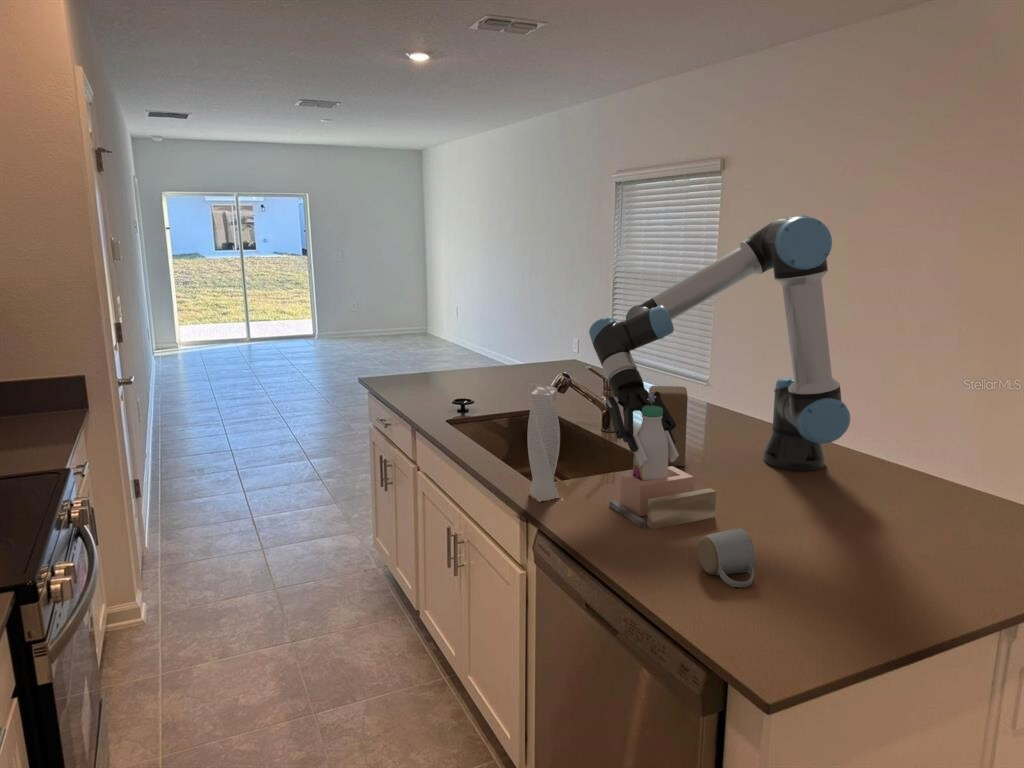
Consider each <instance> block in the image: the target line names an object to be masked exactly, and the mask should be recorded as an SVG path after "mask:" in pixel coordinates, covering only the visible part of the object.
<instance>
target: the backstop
mask: <svg viewBox="0 0 1024 768" xmlns="http://www.w3.org/2000/svg"><path fill="white" fill-rule="evenodd" d="M716 496H717V490H715V489H713V488H708V487H707V488H704V489H698V490H697V489H696V490H693V491H692V492H686V493H681V494H675V495H669V496H664V497H658V498H653V499H648V515H646V517H647V522H646V520H645V519H644V518H642V517H641V516H638V515H637V514H635V513H634V512H632V511H631V510H629V509H628V508H626V507H625V506H623V505H621V504H620V502H617V501H615V500H614V499H612V500H609V502H608V503H609V505H608V506H609V507H610V506H611V507H610V508H612V507H613V508H614V509H615V510H614V509H613V508H612V509H613V510H614V511H616V510H617V511H618V512H617V511H616V512H617V513H619V514H620V513H621V514H620V515H621V516H623V515H624V516H623V517H624V518H626V517H627V518H626V519H627V520H629V519H630V520H629V521H631V520H632V521H633V522H632V521H631V522H632V523H634V524H635V523H636V524H635V525H637V526H638V525H639V526H640V527H639V526H638V527H639V528H645V527H648V528H649V527H650V528H649V529H651V530H652V529H653V530H658V529H662V527H663V528H668V527H672V526H678V525H682V524H683V525H684V524H688V523H692V522H697V521H702V520H707V519H713V518H715V517H716V498H717V497H716ZM646 523H647V524H646ZM644 526H645V527H644ZM657 528H658V529H657Z"/></svg>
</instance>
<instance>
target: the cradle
mask: <svg viewBox="0 0 1024 768" xmlns="http://www.w3.org/2000/svg"><path fill="white" fill-rule="evenodd" d="M694 479H695V478H694V475H691V474H689V473H687V472H685V471H684V470H681V469H679V468H677V467H676V466H668V477H667V478H661V479H655V480H649V481H641V480H639V479H637V478H636V477H634V476H633V474H630V473H629V472H628V473H627V472H626V473H622V474H620V484H619V485H620V486H619V488H620V489H619V491H620V492H619V493H620V494H619V504H620V505H622V506H624V507H625V508H627V509H628V510H630V511H631V512H633V513H634V514H636V515H637V516H639V517H641V516H642V517H643V516H648V499H653V498H658V497H664V496H669V495H675V494H681V493H686V492H692V491H694Z"/></svg>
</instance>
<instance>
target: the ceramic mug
mask: <svg viewBox="0 0 1024 768" xmlns="http://www.w3.org/2000/svg"><path fill="white" fill-rule="evenodd" d="M697 556H698V561H699V563H700V565H701V567H702V569H703V570H704V572H706V573H707V574H709V575H711V576H720V578H721V580H722V581H723V582H724V583H725V584H727V585H728V586H730V587H733V588H735V587H739V588H738V589H741V588H740V587H745V588H748V587H749V586H750V585H752V582H753V581H754V578H755V571H754V568H755V567H756V566H755V565H756V560H757V559H756V558H757V557H756V556H757V555H756V549H755V545H754V543H753V540H752V538H751V536H750V535H749V533H748V532H747V531H746V530H744V529H743V528H740V527H739V528H734V529H729V530H724V531H720V532H715V533H710V534H707V535H704V536H702V537H700V539H699V541H698V543H697ZM747 572H748V573H749V575H750V576H749V579H748V580H747V581H737V580H734V579H732V578H731V577H729V576H728V574H729V575H730V574H738V573H739V574H740V573H747ZM747 586H748V587H747Z"/></svg>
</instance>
